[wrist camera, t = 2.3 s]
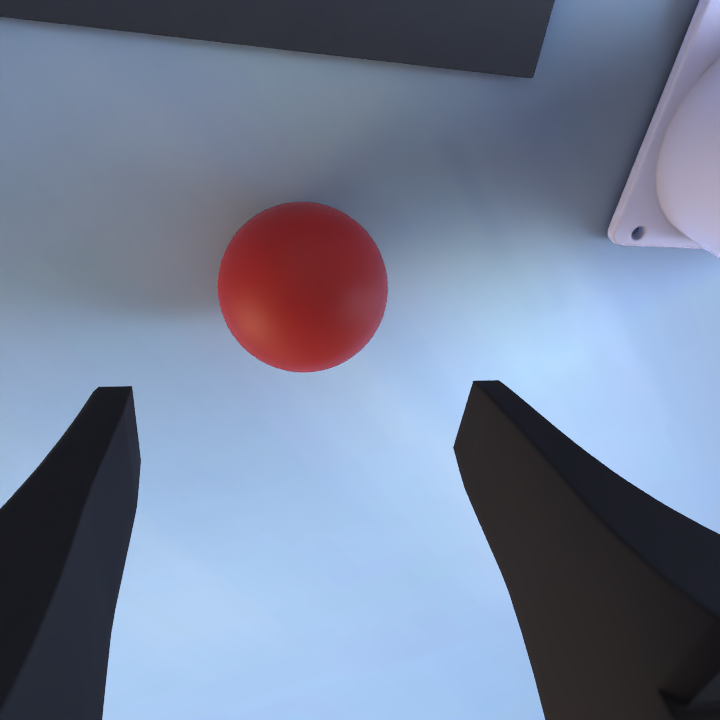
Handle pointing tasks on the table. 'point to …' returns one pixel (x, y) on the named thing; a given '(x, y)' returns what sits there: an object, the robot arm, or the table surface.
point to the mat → (331, 27)
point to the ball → (302, 287)
